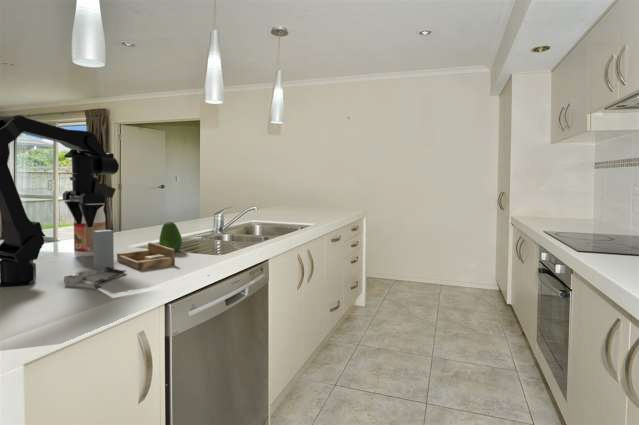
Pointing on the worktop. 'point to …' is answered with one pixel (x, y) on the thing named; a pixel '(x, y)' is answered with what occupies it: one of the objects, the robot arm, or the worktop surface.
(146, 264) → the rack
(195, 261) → the worktop surface
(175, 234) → the avocado
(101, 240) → the grey rectangular block
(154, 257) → the offcut
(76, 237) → the fruit juice
